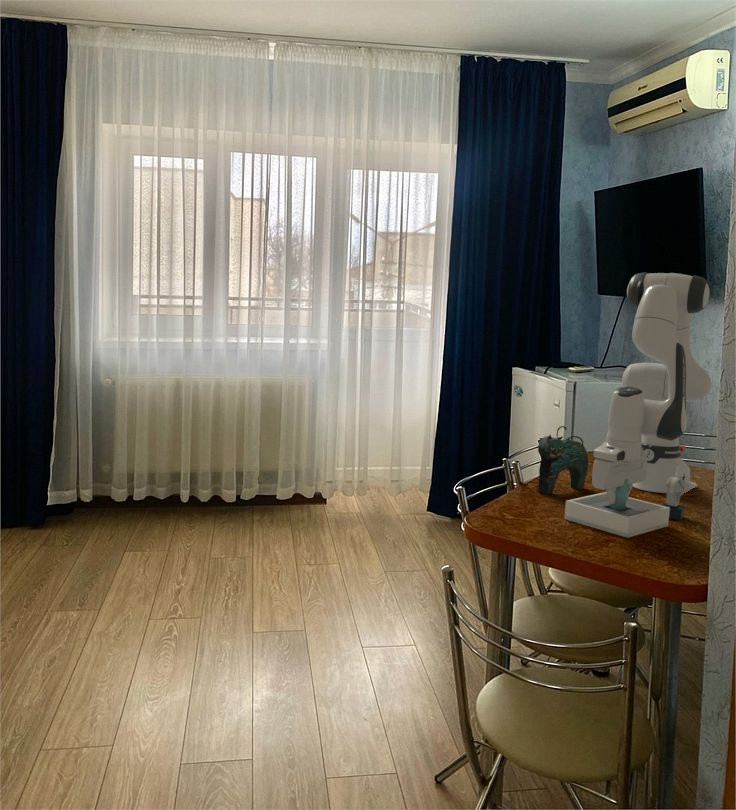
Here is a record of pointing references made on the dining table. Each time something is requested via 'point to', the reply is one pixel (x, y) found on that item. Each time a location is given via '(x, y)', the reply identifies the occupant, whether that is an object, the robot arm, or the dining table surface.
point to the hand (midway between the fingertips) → (618, 501)
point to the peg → (620, 497)
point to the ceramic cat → (561, 462)
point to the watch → (675, 497)
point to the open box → (617, 515)
